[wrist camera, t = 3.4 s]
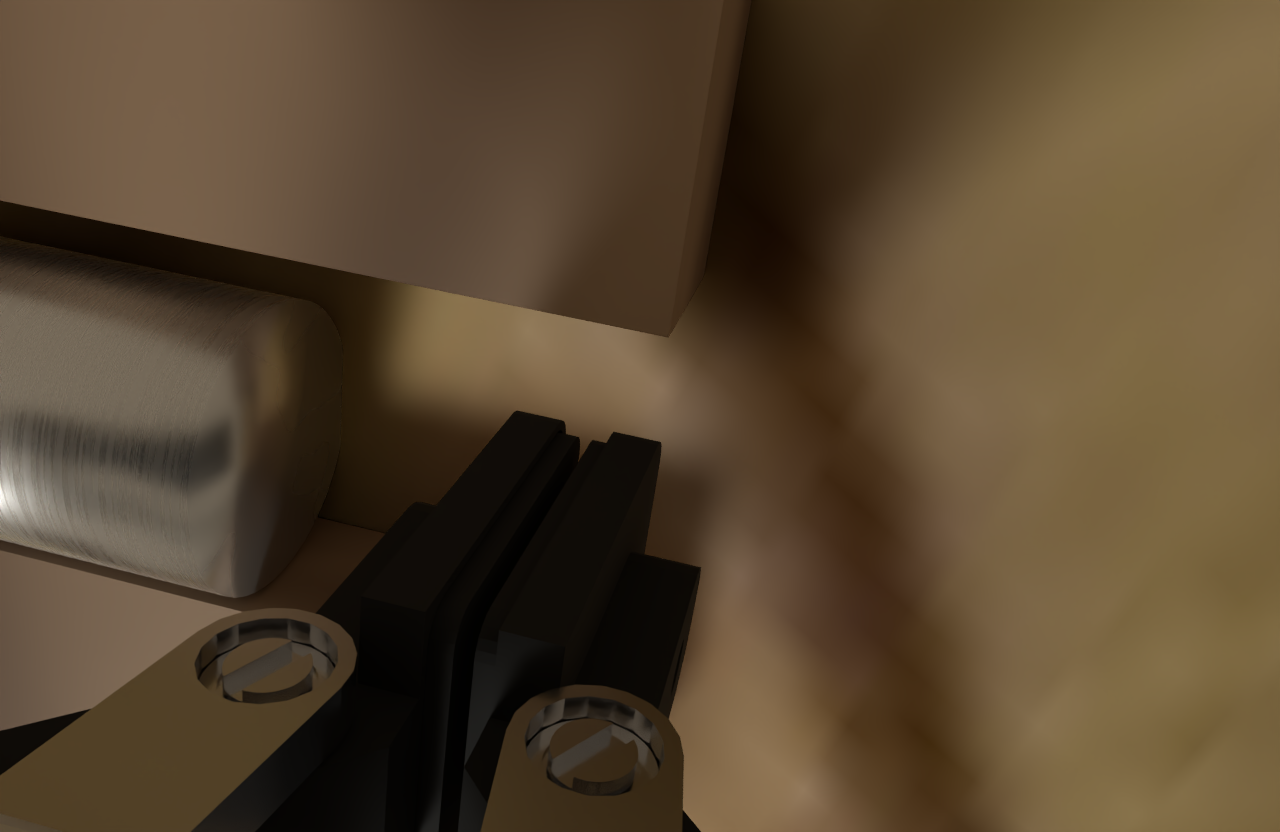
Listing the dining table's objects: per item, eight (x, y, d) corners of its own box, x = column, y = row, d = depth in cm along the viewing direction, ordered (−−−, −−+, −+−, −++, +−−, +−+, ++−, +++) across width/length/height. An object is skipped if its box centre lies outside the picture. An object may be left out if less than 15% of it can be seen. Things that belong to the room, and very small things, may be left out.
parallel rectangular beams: (753, -11, 12) (726, -11, 10) (617, 774, 17) (576, 901, 15) (-519, -213, 14) (-788, -251, 12) (-319, 529, 19) (-485, 604, 17)
